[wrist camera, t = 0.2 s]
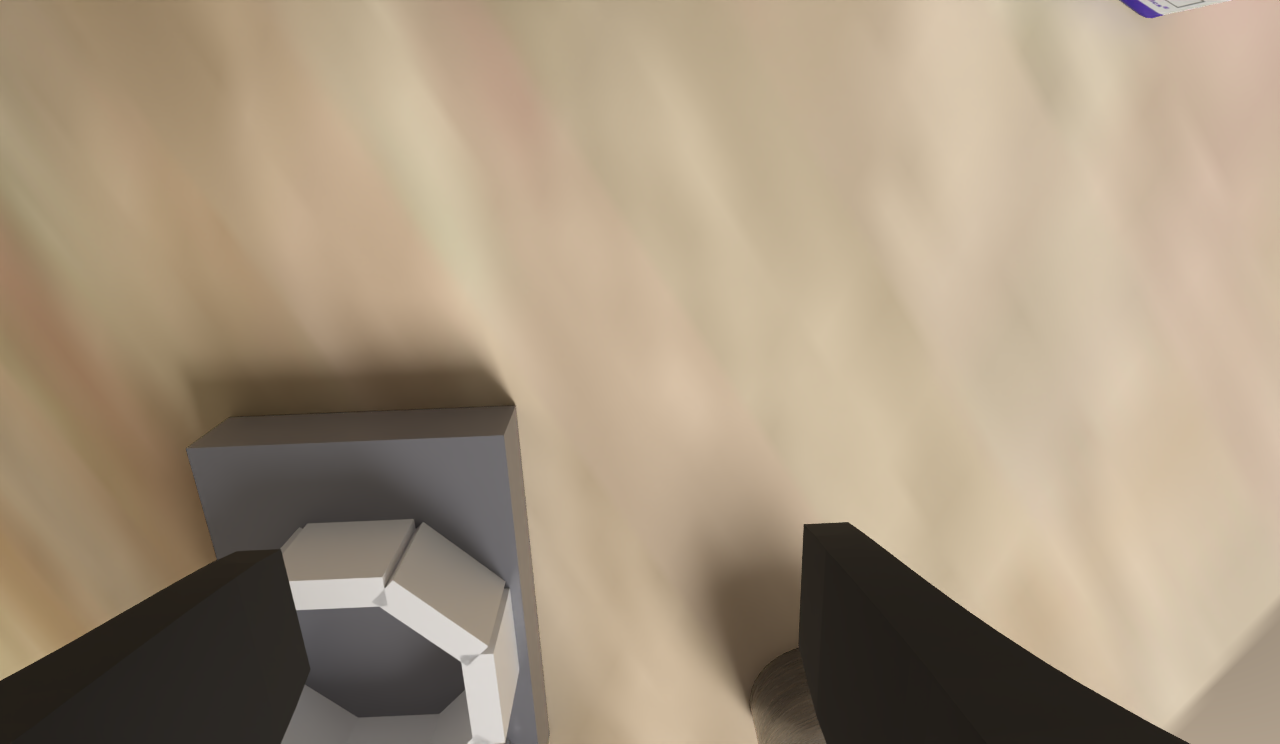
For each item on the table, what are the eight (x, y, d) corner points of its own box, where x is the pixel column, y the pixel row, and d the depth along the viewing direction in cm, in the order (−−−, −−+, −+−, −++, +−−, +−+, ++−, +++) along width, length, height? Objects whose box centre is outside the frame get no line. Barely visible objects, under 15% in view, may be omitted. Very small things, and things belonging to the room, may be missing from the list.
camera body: (549, 733, 23) (532, 869, 19) (312, 744, 23) (241, 882, 19) (516, 405, 19) (485, 482, 15) (229, 417, 19) (115, 498, 15)
